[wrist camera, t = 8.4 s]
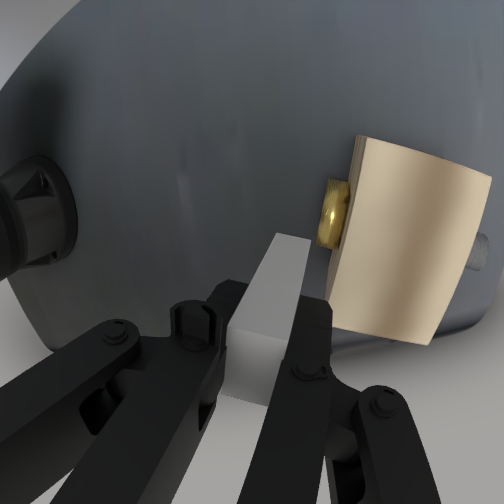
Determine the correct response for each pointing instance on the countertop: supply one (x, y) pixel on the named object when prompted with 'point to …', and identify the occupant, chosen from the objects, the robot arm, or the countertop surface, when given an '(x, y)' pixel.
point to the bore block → (402, 240)
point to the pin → (336, 217)
